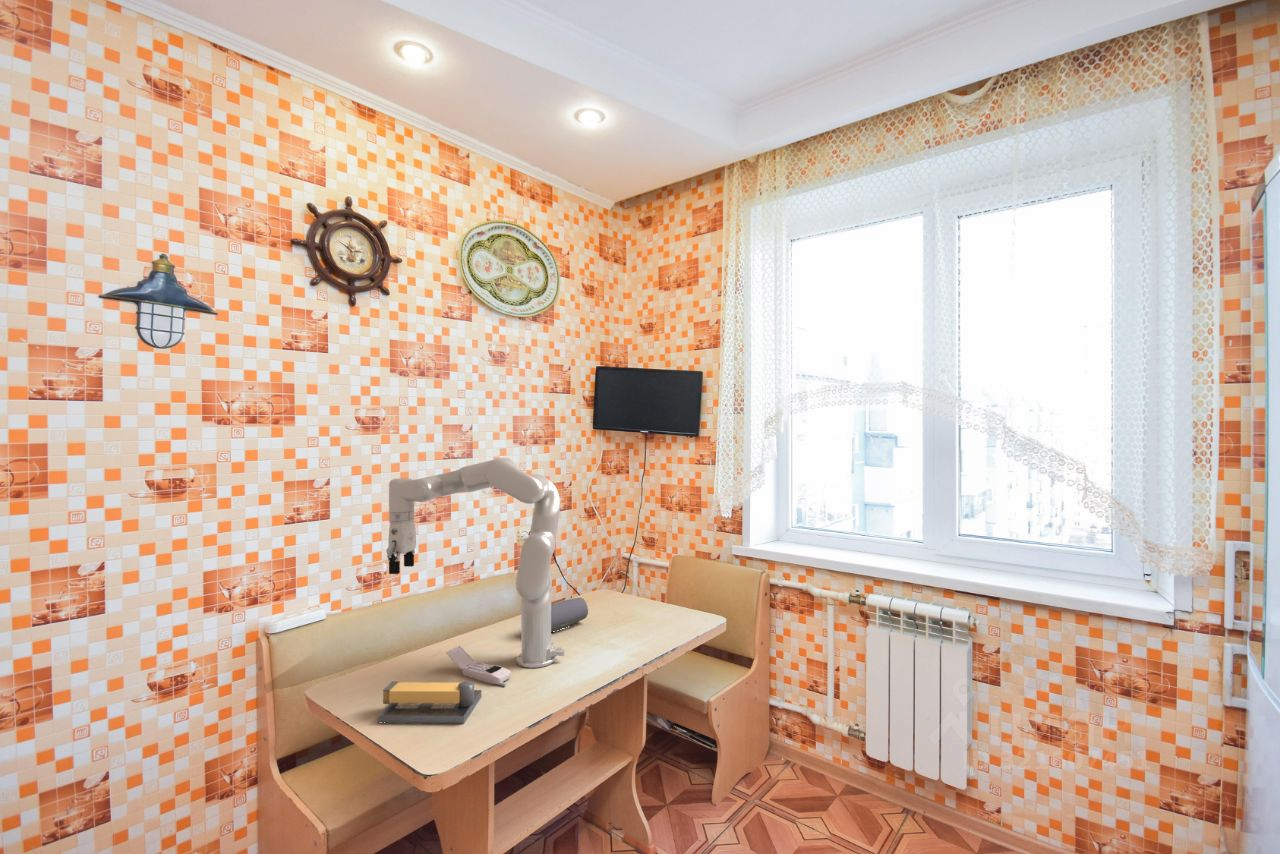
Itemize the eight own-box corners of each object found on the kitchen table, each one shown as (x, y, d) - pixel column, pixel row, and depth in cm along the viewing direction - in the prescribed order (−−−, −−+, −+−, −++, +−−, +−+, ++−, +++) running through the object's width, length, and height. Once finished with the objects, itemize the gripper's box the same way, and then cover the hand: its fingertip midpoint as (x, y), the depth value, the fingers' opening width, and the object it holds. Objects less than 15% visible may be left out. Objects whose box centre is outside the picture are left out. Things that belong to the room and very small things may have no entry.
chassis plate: (481, 697, 152) (481, 688, 152) (463, 723, 138) (463, 714, 138) (403, 696, 152) (403, 688, 152) (378, 723, 138) (378, 714, 138)
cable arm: (476, 698, 146) (476, 680, 146) (470, 708, 141) (470, 688, 141) (392, 698, 147) (392, 679, 147) (383, 707, 142) (383, 688, 142)
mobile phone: (458, 645, 175) (517, 660, 162) (459, 663, 175) (517, 680, 162) (443, 652, 170) (502, 668, 157) (444, 671, 170) (502, 689, 157)
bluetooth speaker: (573, 619, 216) (573, 593, 216) (589, 624, 209) (589, 598, 210) (525, 634, 200) (525, 607, 200) (540, 641, 193) (540, 612, 193)
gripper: (400, 521, 167) (400, 577, 167) (424, 513, 184) (425, 563, 184) (376, 521, 167) (376, 577, 167) (403, 513, 185) (403, 563, 185)
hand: (401, 569), depth 176 cm, fingers open, 9 cm apart
